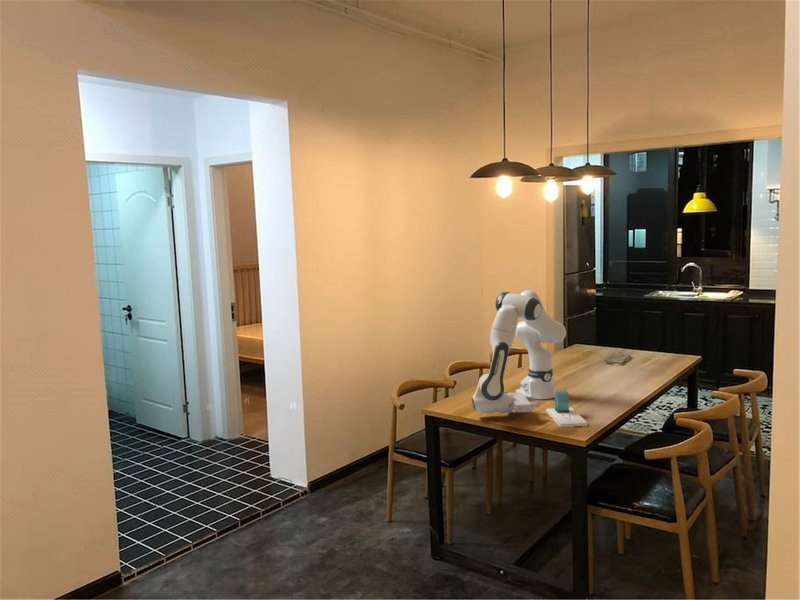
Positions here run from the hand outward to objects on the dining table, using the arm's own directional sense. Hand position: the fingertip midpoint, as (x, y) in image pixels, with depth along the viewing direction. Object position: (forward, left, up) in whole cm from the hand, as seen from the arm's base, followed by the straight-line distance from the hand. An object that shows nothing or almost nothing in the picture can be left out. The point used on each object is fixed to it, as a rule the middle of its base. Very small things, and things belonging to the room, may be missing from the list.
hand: (537, 401), depth 294 cm
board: (+11, +8, -7) cm, 15 cm away
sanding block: (+4, +11, -5) cm, 13 cm away
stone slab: (-77, +111, -7) cm, 135 cm away
